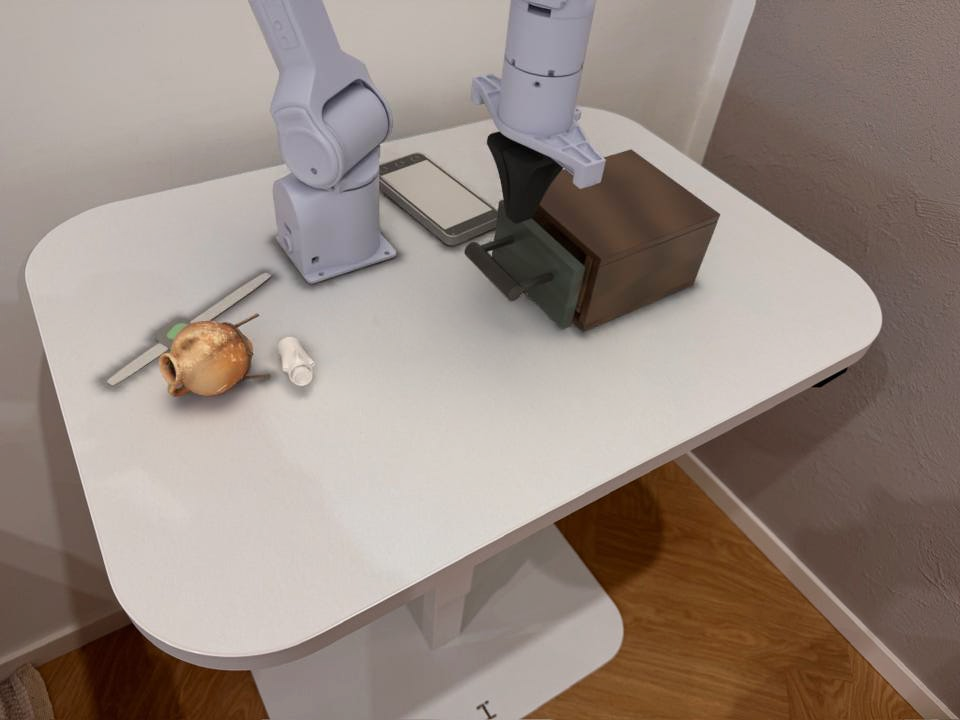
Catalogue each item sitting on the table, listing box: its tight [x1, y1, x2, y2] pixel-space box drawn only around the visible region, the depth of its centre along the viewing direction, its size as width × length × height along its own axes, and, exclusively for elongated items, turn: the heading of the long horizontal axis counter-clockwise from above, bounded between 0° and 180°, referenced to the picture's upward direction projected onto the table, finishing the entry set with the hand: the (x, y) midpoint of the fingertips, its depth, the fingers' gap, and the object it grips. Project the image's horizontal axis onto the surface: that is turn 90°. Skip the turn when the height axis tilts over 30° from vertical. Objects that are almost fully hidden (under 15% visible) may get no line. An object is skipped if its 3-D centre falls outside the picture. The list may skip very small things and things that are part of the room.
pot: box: [158, 312, 272, 398], centre depth 59 cm, size 6×8×6 cm
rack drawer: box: [463, 199, 594, 330], centre depth 70 cm, size 18×11×7 cm, turn 124°
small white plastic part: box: [277, 336, 316, 387], centre depth 61 cm, size 4×6×3 cm, turn 179°
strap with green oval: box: [106, 272, 272, 386], centre depth 65 cm, size 18×1×3 cm
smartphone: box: [379, 151, 498, 246], centre depth 81 cm, size 7×1×15 cm
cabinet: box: [537, 149, 721, 333], centre depth 72 cm, size 15×13×9 cm
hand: (519, 216), depth 63 cm, fingers closed
